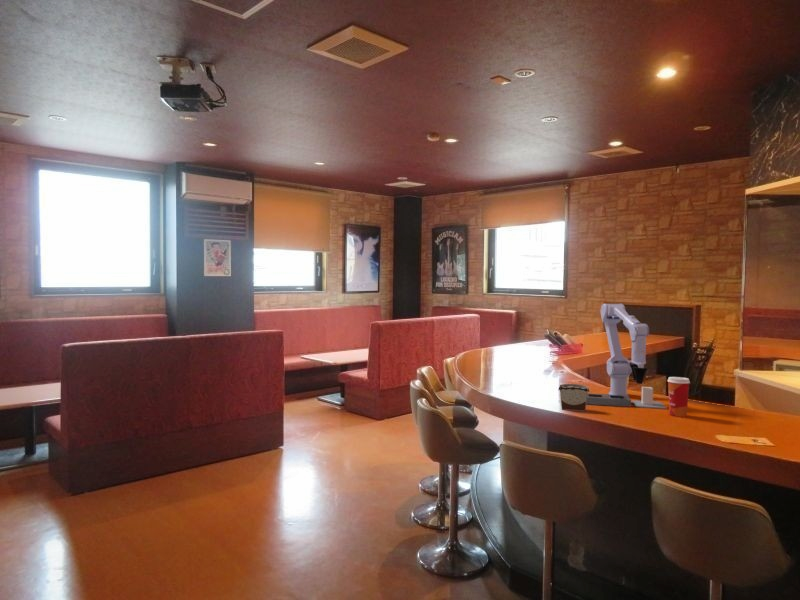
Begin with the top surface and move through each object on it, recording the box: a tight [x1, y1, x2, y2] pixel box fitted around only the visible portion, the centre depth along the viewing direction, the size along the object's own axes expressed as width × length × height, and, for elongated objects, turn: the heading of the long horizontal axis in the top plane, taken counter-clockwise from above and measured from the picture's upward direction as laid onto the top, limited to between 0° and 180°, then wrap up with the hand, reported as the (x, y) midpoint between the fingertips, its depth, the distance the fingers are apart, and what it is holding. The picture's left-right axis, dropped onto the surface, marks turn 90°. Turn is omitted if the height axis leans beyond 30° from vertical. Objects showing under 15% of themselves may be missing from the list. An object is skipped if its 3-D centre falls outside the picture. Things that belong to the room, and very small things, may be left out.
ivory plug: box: [640, 386, 654, 405], centre depth 235 cm, size 4×4×7 cm
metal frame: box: [586, 392, 632, 408], centre depth 239 cm, size 10×20×3 cm, turn 75°
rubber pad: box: [631, 399, 668, 410], centre depth 235 cm, size 12×12×1 cm
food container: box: [558, 383, 590, 412], centre depth 227 cm, size 12×6×10 cm, turn 74°
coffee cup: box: [666, 376, 691, 418], centre depth 216 cm, size 8×8×15 cm
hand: (637, 381), depth 239 cm, fingers open, 7 cm apart
